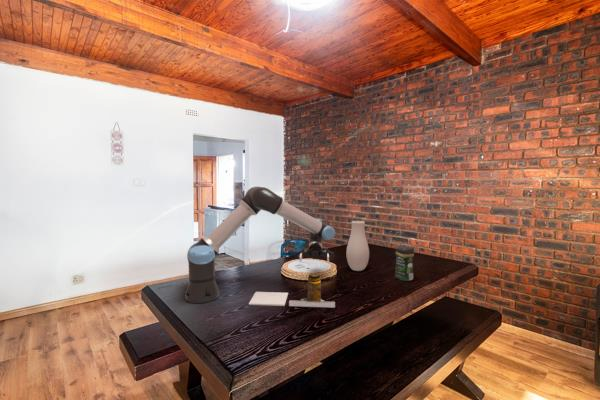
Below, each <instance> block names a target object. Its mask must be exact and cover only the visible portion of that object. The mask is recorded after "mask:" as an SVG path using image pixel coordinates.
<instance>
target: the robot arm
mask: <svg viewBox="0 0 600 400" xmlns="http://www.w3.org/2000/svg"><path fill="white" fill-rule="evenodd" d="M239 201H240V203H239V205H238V206H237V207H236V208H235V209H234V210H233V211H232V212H230V214H229V215H228V216H227V217H226V218H224V220H222V222H221V223H219V224H218V225H217V227H215V229H213V231H212V232H210V234H208V236H206V237H205V236H202V237H201V238H200V239H199V240H198V241H197V242H196V243H194V244H192V245H191V246H190V247H189V248H188V250H187V256H186V257H187V263H188V285H187V288H186V290H185V293H184V294H185V295H184V298H185V299H186V300H185V301H186V302H187V301H188V303H191V304H204V303H209V302H212V301H214V300H216V299H218V298H219V296H220V290H219V287H218V285H217V282H216V272H215V271H216V268H215V257H216V256H218V254H219V253H220V248H221V247H222V246H223V245H224V244H226V242H227V241H228V240H229V239H230V238H231V237H232V236H233V235H234V234H235V233H236V232H237V231H238V230H239V229H240V228H241V227H242V226H243V225H244V224H245V223H246V222H247V221H248V220H249V219H250V218H251V217H252V216H257V215H258V214H259V212H261V211H265V212H268V213H269V214H272V215H278V216H280V217H282V218H283V219H285V220H288V221H289V222H291V223H292V224H295V225H297V226H298V227H300V228H303V229H305V230H306V231H307V232H309V233H308V234H309V240H308V243H309V246H308V249H307V250H306V249H305V248H302V249H301V250H299V251H297V252H295V253H294V258H295V259H296V258H297V259H298V260H299V262H300V263H302V260H303V258H305V257H312V258H319V257H323V258H326V260H327V263H330V260H332V259H335V252H333V251H331V250H329V249H327V248H326V249H324V250H323V240H325V241H331V240H333V239H334V238H335V235H336V230H335V229H334V228H333V227H332V226H331V225H328V224H325V223H324V222H323V220H322V219H321V218H315V217H313V216H311V215H310V214H308V213H306V212H304V211H302V210H301V209H299V208H297V207H295V206H294V205H291V204H290V203H288V202H286V201H285V200H284V199H283V197H281V196H280V195H278V194H277V193H275V192H273V191H272V190H271V189H269V188H267V187H265V186H264V187H263V186H253V187H250V188H249V189H248V190H247V191H246V193H245V195H244V196H243V197H242V198H241V199H240V200H239Z"/></svg>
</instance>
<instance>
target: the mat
mask: <svg viewBox="0 0 600 400" xmlns="http://www.w3.org/2000/svg"><path fill="white" fill-rule="evenodd" d="M288 295H289V292H280V291H279V292H273V291H270V292H269V291H255V293H254V294H253V296H252V297H251V299H250V301H249V302H248V305H249V306H271V307H272V306H273V307H274V306H277V307H285V305H286V303H287V299H288V297H289V296H288Z"/></svg>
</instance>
